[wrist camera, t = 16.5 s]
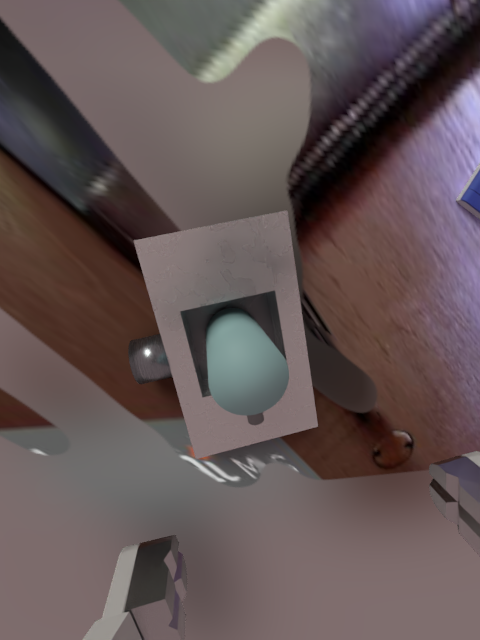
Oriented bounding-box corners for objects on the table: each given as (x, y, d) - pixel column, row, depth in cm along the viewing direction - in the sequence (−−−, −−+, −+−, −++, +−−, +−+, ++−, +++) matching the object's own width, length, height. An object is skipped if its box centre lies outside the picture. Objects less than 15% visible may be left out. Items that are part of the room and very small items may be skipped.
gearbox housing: (274, 216, 26) (288, 209, 22) (303, 404, 31) (318, 427, 27) (109, 248, 25) (91, 248, 21) (168, 439, 30) (163, 468, 26)
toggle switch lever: (253, 302, 27) (282, 331, 17) (265, 366, 29) (297, 424, 19) (200, 314, 27) (199, 350, 17) (215, 378, 28) (223, 444, 19)
